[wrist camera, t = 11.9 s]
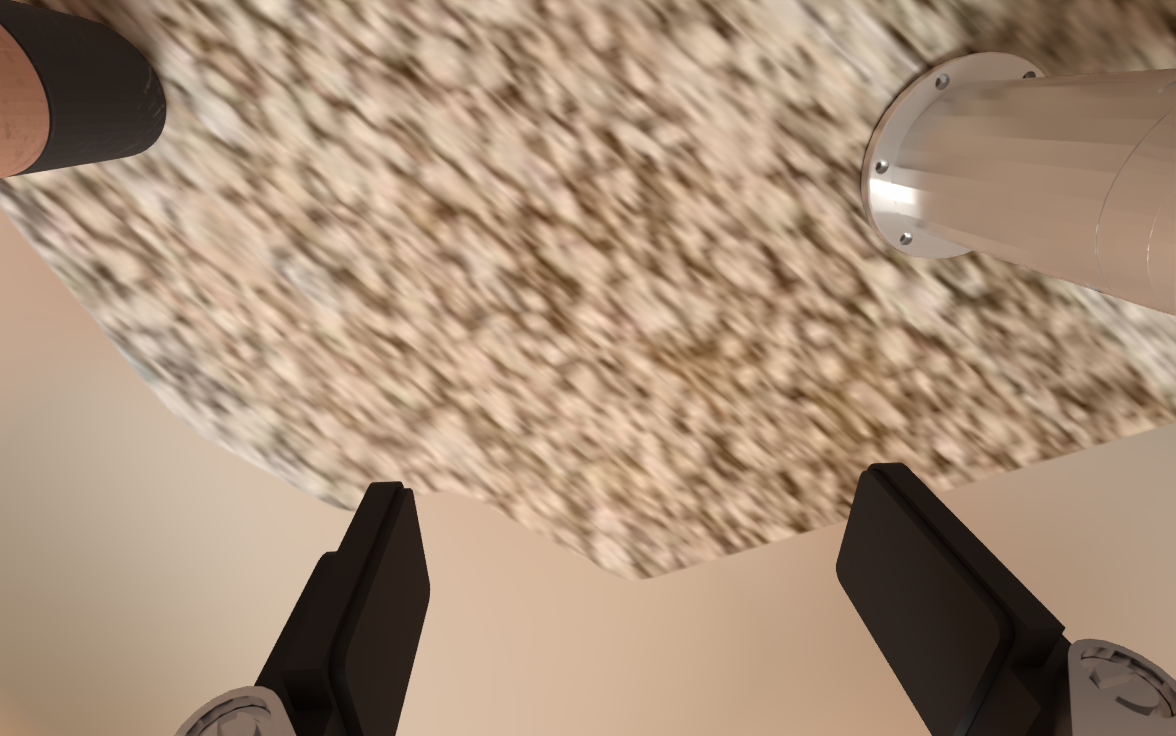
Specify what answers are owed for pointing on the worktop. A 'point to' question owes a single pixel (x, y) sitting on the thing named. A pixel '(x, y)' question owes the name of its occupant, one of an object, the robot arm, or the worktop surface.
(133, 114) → the travel mug
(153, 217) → the worktop surface
